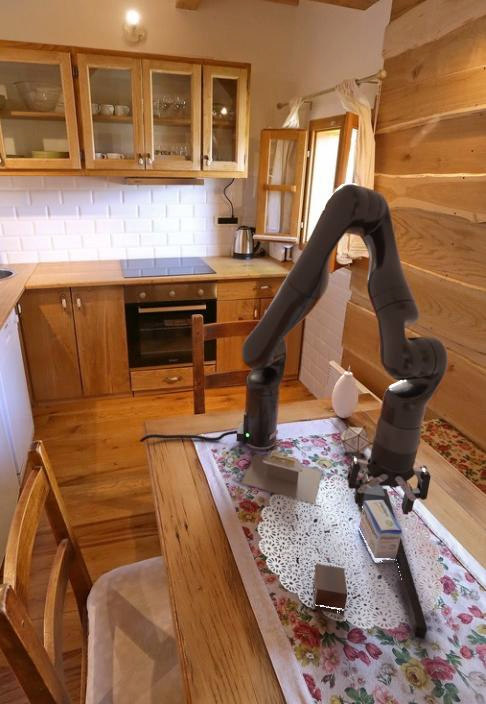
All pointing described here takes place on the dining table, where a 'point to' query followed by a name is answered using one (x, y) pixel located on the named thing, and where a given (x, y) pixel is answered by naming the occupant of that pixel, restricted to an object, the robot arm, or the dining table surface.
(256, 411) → the robot arm
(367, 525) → the medicine box
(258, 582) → the dining table surface
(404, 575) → the straightedge
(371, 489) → the slate block
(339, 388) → the air dust blower
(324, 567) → the walnut block
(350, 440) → the beige icosahedron
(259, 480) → the platform
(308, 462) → the dining table surface
